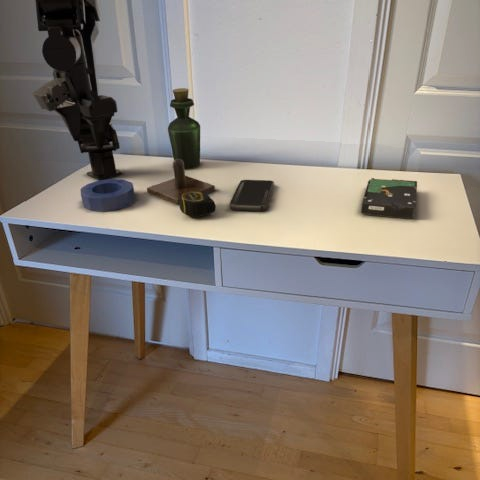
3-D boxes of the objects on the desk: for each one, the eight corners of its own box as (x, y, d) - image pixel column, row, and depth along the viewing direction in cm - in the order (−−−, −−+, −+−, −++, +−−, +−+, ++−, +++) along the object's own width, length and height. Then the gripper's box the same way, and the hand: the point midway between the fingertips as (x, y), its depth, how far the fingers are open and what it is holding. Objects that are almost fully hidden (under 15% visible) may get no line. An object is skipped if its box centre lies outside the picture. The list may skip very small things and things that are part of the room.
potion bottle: (205, 168, 125) (200, 91, 114) (173, 172, 123) (165, 94, 113) (200, 159, 131) (194, 85, 121) (170, 162, 130) (161, 88, 119)
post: (147, 192, 112) (142, 159, 108) (184, 179, 119) (181, 148, 114) (178, 205, 106) (174, 170, 102) (215, 190, 112) (213, 157, 108)
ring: (73, 202, 109) (70, 189, 107) (116, 188, 115) (114, 175, 114) (101, 215, 103) (98, 202, 101) (145, 199, 109) (143, 186, 107)
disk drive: (414, 221, 96) (415, 192, 108) (416, 207, 95) (417, 179, 106) (360, 216, 99) (366, 188, 110) (361, 202, 97) (368, 176, 108)
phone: (228, 204, 102) (241, 179, 114) (229, 209, 103) (241, 184, 115) (266, 206, 101) (275, 180, 113) (266, 211, 101) (275, 185, 113)
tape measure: (217, 217, 100) (216, 199, 98) (184, 222, 99) (182, 204, 96) (208, 205, 105) (207, 188, 103) (177, 209, 104) (175, 192, 102)
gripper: (10, 64, 97) (32, 145, 106) (57, 73, 86) (77, 163, 95) (61, 57, 103) (78, 134, 112) (111, 64, 92) (125, 149, 101)
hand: (88, 144), depth 105 cm, fingers open, 9 cm apart
